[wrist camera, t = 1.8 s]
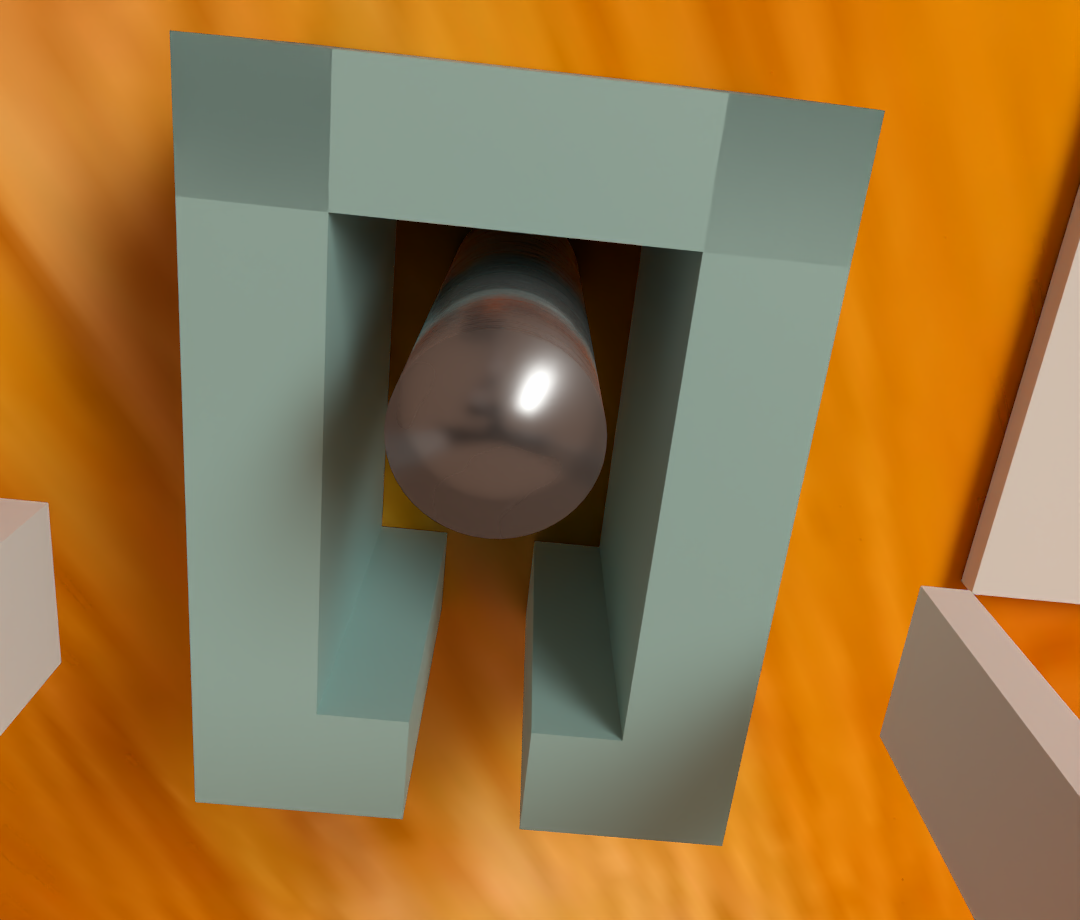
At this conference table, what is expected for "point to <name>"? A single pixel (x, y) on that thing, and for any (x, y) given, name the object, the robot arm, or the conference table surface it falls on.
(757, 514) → the green u-shaped block
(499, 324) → the grey cylinder
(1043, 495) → the mat
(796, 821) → the conference table surface
